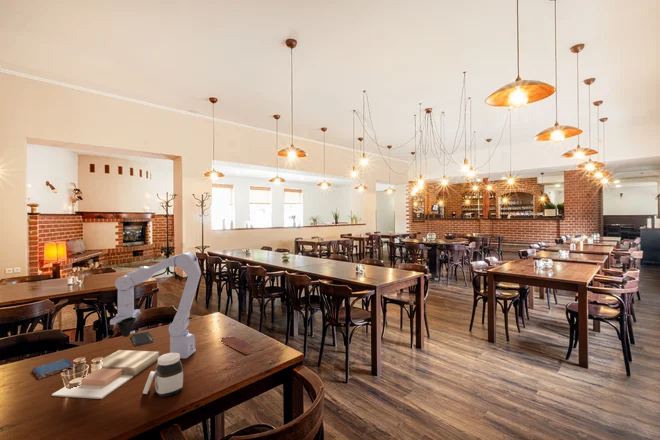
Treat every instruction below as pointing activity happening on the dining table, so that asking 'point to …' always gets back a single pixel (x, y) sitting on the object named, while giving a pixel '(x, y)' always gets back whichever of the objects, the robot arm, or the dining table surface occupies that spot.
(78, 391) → the mat
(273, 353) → the dining table surface
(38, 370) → the woven mat
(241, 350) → the wooden tablet
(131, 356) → the block
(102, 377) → the tile
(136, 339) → the phone
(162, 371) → the spread jar
